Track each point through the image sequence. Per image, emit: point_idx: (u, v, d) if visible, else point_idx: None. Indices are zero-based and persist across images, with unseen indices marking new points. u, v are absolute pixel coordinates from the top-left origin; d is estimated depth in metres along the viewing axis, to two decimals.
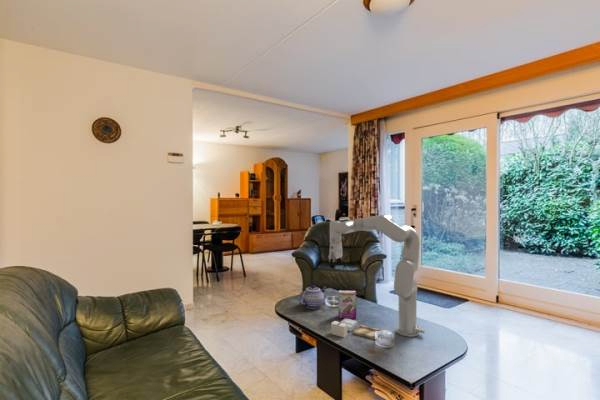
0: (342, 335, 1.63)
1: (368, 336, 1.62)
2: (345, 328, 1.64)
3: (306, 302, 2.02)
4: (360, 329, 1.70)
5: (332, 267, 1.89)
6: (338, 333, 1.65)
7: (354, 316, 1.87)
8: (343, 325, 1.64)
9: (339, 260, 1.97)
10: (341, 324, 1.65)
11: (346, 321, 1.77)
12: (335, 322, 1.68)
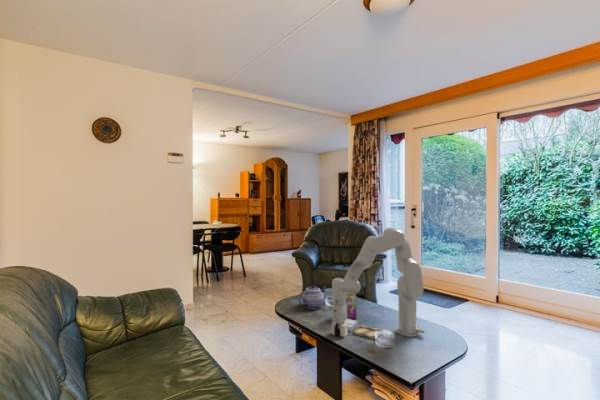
0: (343, 335, 1.63)
1: (368, 336, 1.62)
2: (345, 327, 1.64)
3: (306, 302, 2.02)
4: (360, 329, 1.70)
5: None
6: None
7: (354, 316, 1.87)
8: (343, 325, 1.64)
9: None
10: (341, 324, 1.65)
11: (346, 321, 1.77)
12: None
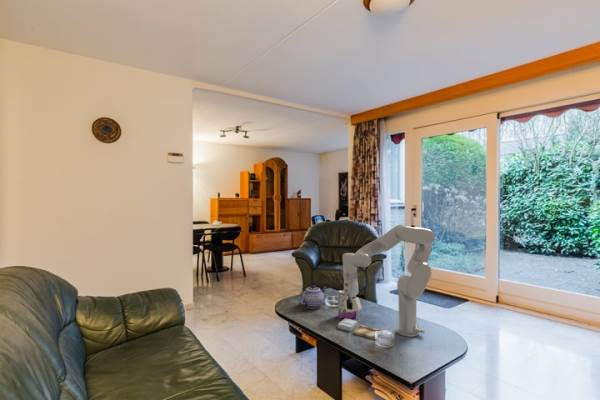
0: (356, 309, 1.64)
1: (368, 336, 1.62)
2: (357, 301, 1.65)
3: (306, 302, 2.02)
4: (360, 329, 1.70)
5: (350, 308, 1.65)
6: None
7: (354, 316, 1.87)
8: (354, 299, 1.65)
9: None
10: (352, 299, 1.67)
11: (346, 321, 1.77)
12: None
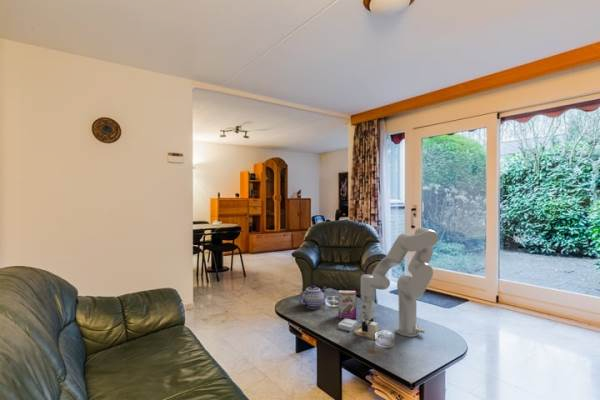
0: (373, 334, 1.63)
1: (368, 336, 1.62)
2: (376, 327, 1.63)
3: (306, 302, 2.02)
4: (360, 329, 1.70)
5: (365, 330, 1.63)
6: (369, 331, 1.64)
7: (354, 316, 1.87)
8: (374, 324, 1.64)
9: (371, 320, 1.70)
10: (372, 323, 1.65)
11: (346, 321, 1.77)
12: (365, 321, 1.67)
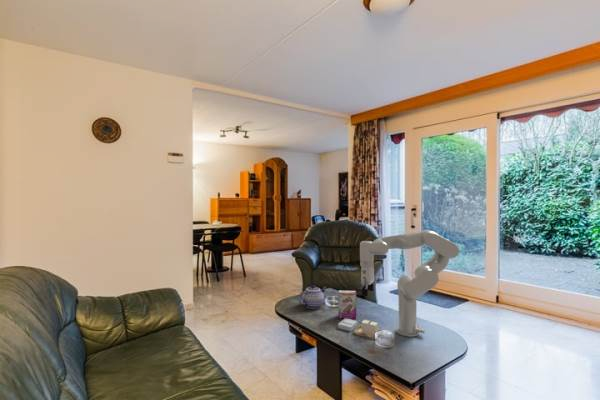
0: (373, 334, 1.63)
1: (368, 336, 1.62)
2: (376, 327, 1.63)
3: (306, 302, 2.02)
4: (360, 329, 1.70)
5: (365, 294, 1.65)
6: (369, 331, 1.64)
7: (354, 316, 1.87)
8: (374, 324, 1.64)
9: (370, 285, 1.73)
10: (372, 323, 1.65)
11: (346, 321, 1.77)
12: (365, 321, 1.67)
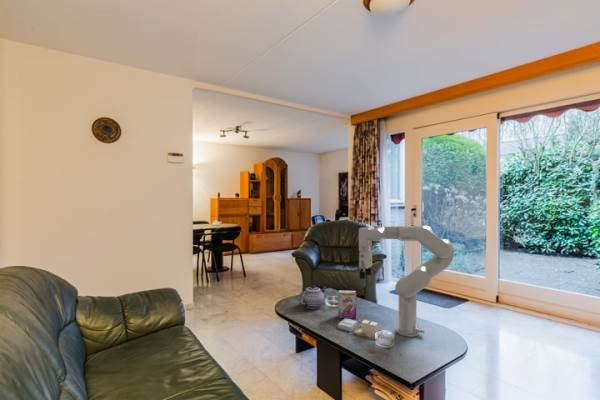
0: (373, 334, 1.63)
1: (368, 336, 1.62)
2: (376, 327, 1.63)
3: (306, 302, 2.02)
4: (360, 329, 1.70)
5: None
6: (369, 331, 1.64)
7: (354, 316, 1.87)
8: (374, 324, 1.64)
9: (368, 269, 1.83)
10: (372, 323, 1.65)
11: (346, 321, 1.77)
12: (365, 321, 1.67)
